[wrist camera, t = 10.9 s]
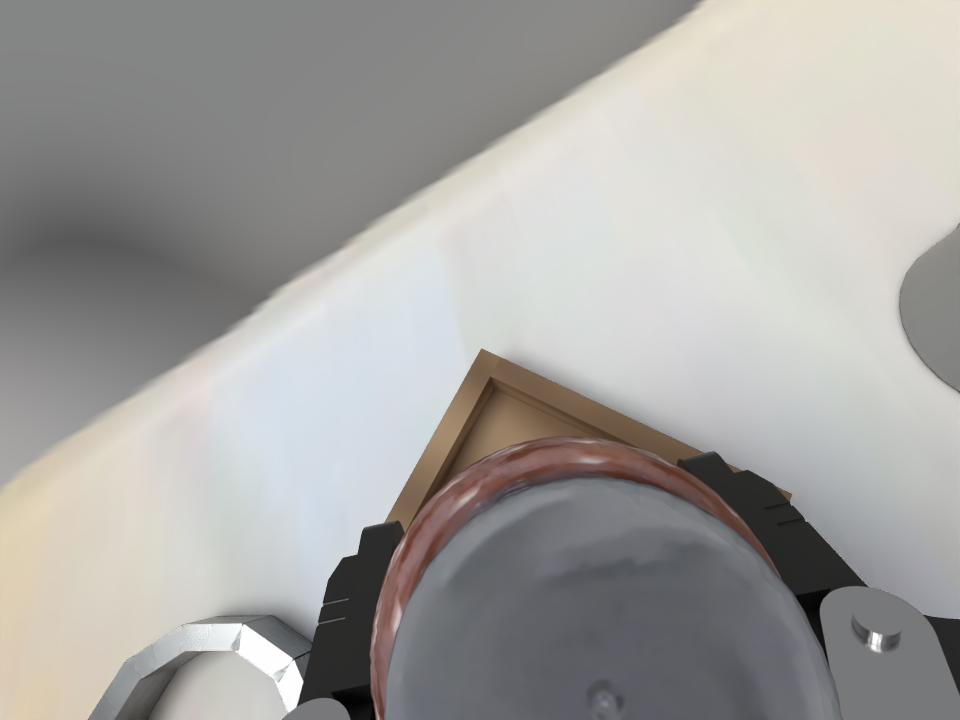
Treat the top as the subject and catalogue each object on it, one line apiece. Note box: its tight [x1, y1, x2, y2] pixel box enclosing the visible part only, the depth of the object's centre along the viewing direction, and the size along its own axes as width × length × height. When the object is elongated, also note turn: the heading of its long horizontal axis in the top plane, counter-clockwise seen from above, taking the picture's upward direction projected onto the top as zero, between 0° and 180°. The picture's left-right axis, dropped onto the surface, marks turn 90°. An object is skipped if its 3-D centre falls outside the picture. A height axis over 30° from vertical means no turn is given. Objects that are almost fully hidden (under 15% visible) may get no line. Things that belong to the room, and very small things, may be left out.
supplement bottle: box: [370, 436, 843, 720], centre depth 10 cm, size 6×6×11 cm
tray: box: [384, 348, 792, 532], centre depth 22 cm, size 14×14×3 cm
